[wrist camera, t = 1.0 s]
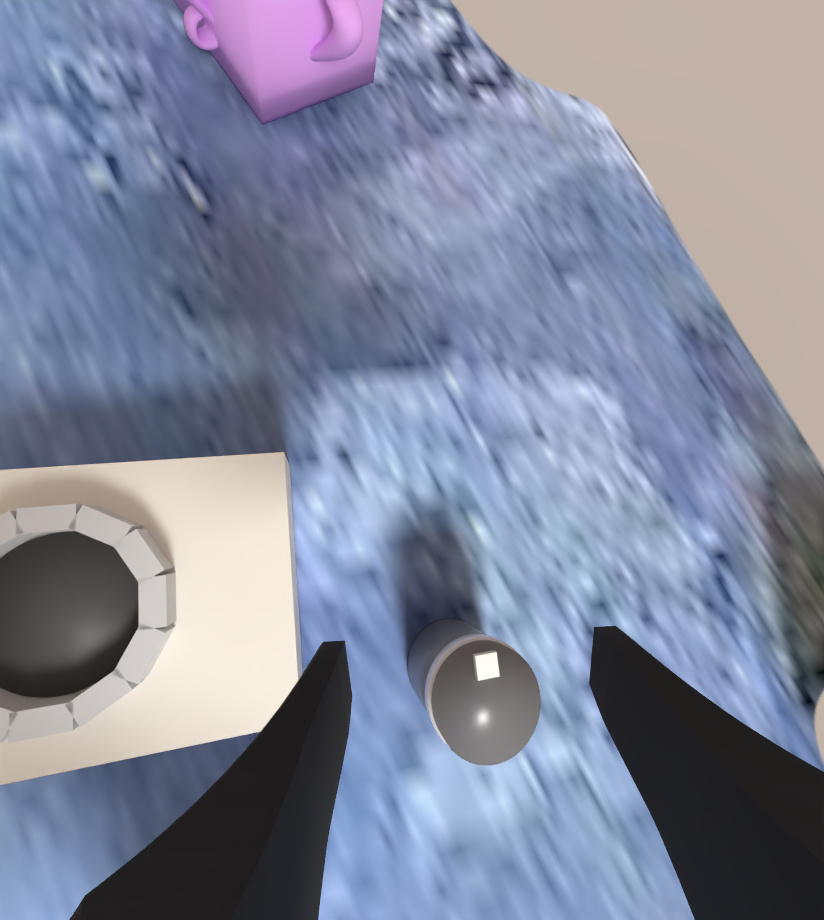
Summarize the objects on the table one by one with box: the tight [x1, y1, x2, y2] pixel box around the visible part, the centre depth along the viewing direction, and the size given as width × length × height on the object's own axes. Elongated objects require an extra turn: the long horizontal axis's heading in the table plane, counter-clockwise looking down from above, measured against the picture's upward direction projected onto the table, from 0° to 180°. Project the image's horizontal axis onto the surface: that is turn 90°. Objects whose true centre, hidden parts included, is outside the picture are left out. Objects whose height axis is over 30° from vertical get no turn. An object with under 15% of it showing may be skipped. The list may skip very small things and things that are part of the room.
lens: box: [407, 619, 540, 765], centre depth 21 cm, size 5×5×6 cm
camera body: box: [0, 452, 303, 785], centre depth 18 cm, size 12×18×5 cm, turn 96°
